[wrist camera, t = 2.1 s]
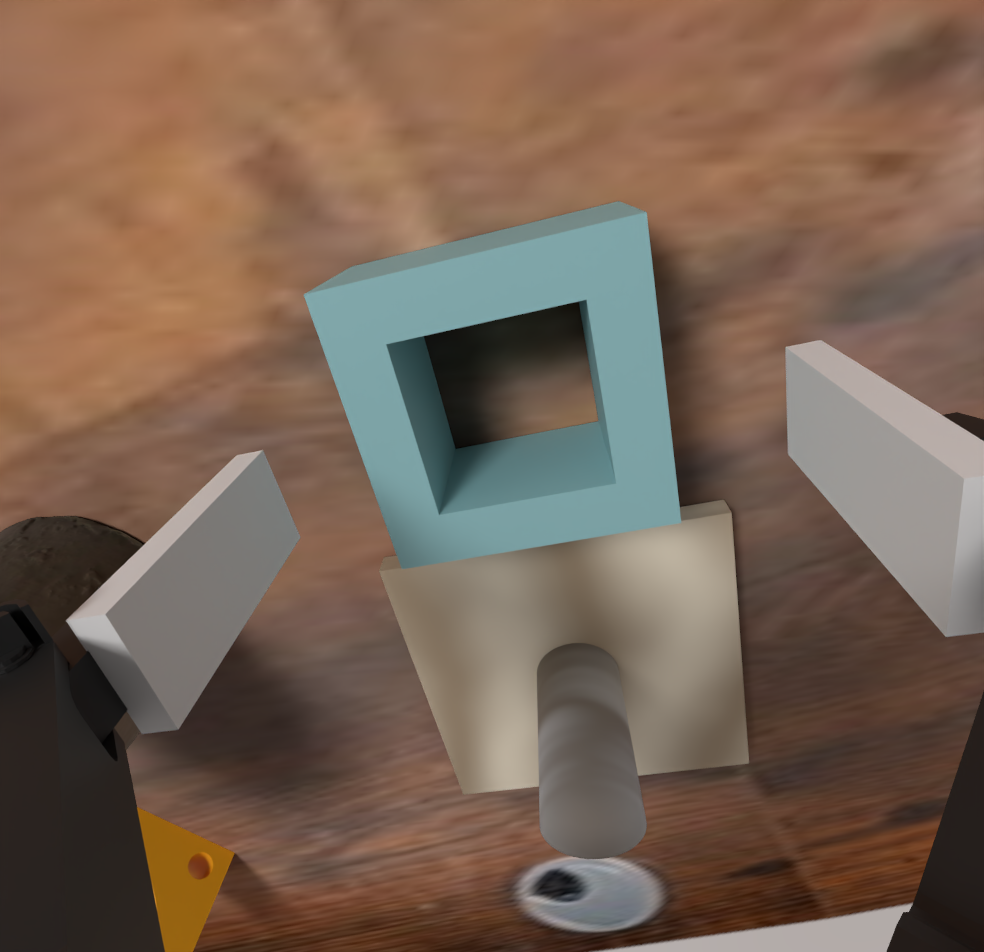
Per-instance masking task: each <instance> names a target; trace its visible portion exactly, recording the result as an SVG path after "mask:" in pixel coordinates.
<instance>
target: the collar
mask: <svg viewBox="0 0 984 952" xmlns="http://www.w3.org/2000/svg"><path fill="white" fill-rule="evenodd" d="M304 297H305V300H306V303H307V305H308V308H309V311H310V314H311V317H312V319H313V322H314V325H315V328H316V331H317V333H318V336H319V339H320V342H321V345H322V347H323V350H324V353H325V356H326V359H327V361H328V364H329V367H330V370H331V373H332V375H333V378H334V381H335V384H336V387H337V389H338V392H339V395H340V398H341V401H342V403H343V406H344V409H345V412H346V415H347V417H348V420H349V423H350V426H351V428H352V431H353V434H354V437H355V440H356V442H357V445H358V448H359V451H360V454H361V456H362V459H363V462H364V465H365V468H366V470H367V473H368V476H369V479H370V482H371V484H372V487H373V490H374V493H375V496H376V498H377V501H378V504H379V507H380V510H381V512H382V515H383V518H384V521H385V524H386V526H387V529H388V532H389V535H390V538H391V540H392V543H393V546H394V549H395V552H396V554H397V557H398V560H399V563H400V565H401V568H402V569H408V568H414V567H420V566H426V565H432V564H438V563H444V562H450V561H456V560H462V559H468V558H474V557H480V556H486V555H492V554H498V553H504V552H510V551H516V550H522V549H528V548H534V547H540V546H546V545H552V544H558V543H564V542H570V541H576V540H582V539H588V538H594V537H600V536H606V535H612V534H618V533H624V532H630V531H636V530H642V529H648V528H654V527H660V526H666V525H672V524H678V523H681V515H680V506H679V497H678V488H677V479H676V470H675V462H674V453H673V444H672V435H671V426H670V417H669V408H668V399H667V390H666V381H665V372H664V363H663V355H662V346H661V337H660V328H659V319H658V310H657V301H656V292H655V283H654V274H653V265H652V256H651V248H650V239H649V230H648V221H647V212H645V211H643V210H640V209H638V208H635V207H632V206H630V205H627V204H625V203H622V202H620V201H618V202H614V203H610V204H605V205H601V206H597V207H593V208H589V209H585V210H581V211H577V212H573V213H569V214H565V215H560V216H556V217H552V218H548V219H544V220H540V221H536V222H532V223H528V224H524V225H520V226H516V227H511V228H507V229H503V230H499V231H495V232H491V233H487V234H483V235H479V236H475V237H471V238H467V239H462V240H458V241H454V242H450V243H446V244H442V245H438V246H434V247H430V248H426V249H422V250H418V251H413V252H409V253H405V254H401V255H397V256H393V257H389V258H385V259H381V260H377V261H373V262H368V263H364V264H360V265H356V266H352V267H350V268H348V269H347V270H345V271H343V272H341V273H340V274H338V275H336V276H335V277H333V278H331V279H329V280H328V281H326V282H324V283H323V284H321V285H319V286H317V287H316V288H314V289H312V290H311V291H309V292H307V293H305V294H304ZM578 301H579V306H580V312H581V318H582V324H583V330H584V336H585V342H586V348H587V354H588V360H589V366H590V372H591V378H592V384H593V390H594V396H595V402H596V408H597V414H598V420H599V421H597V422H592V423H587V424H582V425H577V426H571V427H566V428H561V429H556V430H551V431H546V432H540V433H535V434H530V435H525V436H520V437H515V438H510V439H504V440H499V441H494V442H489V443H484V444H479V445H473V446H468V447H463V448H458V449H455V445H454V442H453V438H452V434H451V431H450V427H449V424H448V420H447V417H446V413H445V410H444V406H443V403H442V399H441V395H440V392H439V388H438V385H437V381H436V378H435V374H434V371H433V367H432V364H431V360H430V356H429V353H428V349H427V346H426V342H425V339H424V336H426V335H431V334H435V333H439V332H444V331H448V330H453V329H457V328H462V327H466V326H471V325H475V324H480V323H484V322H489V321H493V320H498V319H502V318H507V317H511V316H516V315H520V314H525V313H529V312H534V311H538V310H542V309H547V308H551V307H556V306H560V305H565V304H569V303H574V302H578Z"/></svg>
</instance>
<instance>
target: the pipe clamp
mask: <svg viewBox="0 0 984 952" xmlns="http://www.w3.org/2000/svg"><path fill="white" fill-rule="evenodd" d="M137 810H138V815H139V820H140V825H141V831H142V836H143V841H144V846H145V851H146V856H147V862H148V867H149V872H150V877H151V882H152V887H153V892H154V898H155V903H156V908H157V913H158V918H159V923H160V929H161V934H162V939H163V944H164V949H165V952H193V950H194V948H195V945H196V943H197V941H198V938H199V936H200V934H201V931H202V929H203V926H204V924H205V922H206V919H207V917H208V915H209V912H210V910H211V908H212V905H213V903H214V901H215V898H216V896H217V894H218V891H219V889H220V887H221V884H222V882H223V879H224V877H225V875H226V872H227V870H228V868H229V865H230V863H231V861H232V858H233V856H234V854H235V853H234V852H232V851H230V850H228V849H225V848H223V847H221V846H219V845H217V844H215V843H213V842H211V841H208V840H206V839H204V838H202V837H200V836H198V835H196V834H193V833H191V832H189V831H187V830H185V829H183V828H181V827H179V826H176V825H174V824H172V823H170V822H168V821H166V820H164V819H161V818H159V817H157V816H155V815H153V814H151V813H149V812H147V811H144V810H142V809H140V808H138V807H137Z"/></svg>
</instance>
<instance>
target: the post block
mask: <svg viewBox="0 0 984 952" xmlns="http://www.w3.org/2000/svg"><path fill="white" fill-rule="evenodd" d="M680 515H681V523H678V524H672V525H666V526H660V527H654V528H648V529H642V530H636V531H630V532H624V533H618V534H612V535H606V536H600V537H594V538H588V539H582V540H576V541H570V542H564V543H558V544H552V545H546V546H540V547H534V548H528V549H522V550H516V551H510V552H504V553H498V554H492V555H486V556H480V557H474V558H468V559H462V560H456V561H450V562H444V563H438V564H432V565H426V566H420V567H414V568H408V569H402V568H401V565H400V563H399V560H398V557H397V555H395V556H390V557H384V559H383V562H382V565H381V567H380V570H379V573H380V575H381V578H382V581H383V583H384V586H385V588H386V591H387V594H388V596H389V599H390V602H391V604H392V607H393V610H394V612H395V615H396V618H397V620H398V623H399V625H400V628H401V631H402V633H403V636H404V639H405V641H406V644H407V647H408V649H409V652H410V655H411V657H412V660H413V663H414V665H415V668H416V670H417V673H418V676H419V678H420V681H421V684H422V686H423V689H424V692H425V694H426V697H427V700H428V702H429V705H430V708H431V710H432V713H433V715H434V718H435V721H436V723H437V726H438V729H439V731H440V734H441V737H442V739H443V742H444V745H445V747H446V750H447V752H448V755H449V758H450V760H451V763H452V766H453V768H454V771H455V774H456V776H457V779H458V782H459V784H460V787H461V790H462V792H463V795H464V794H473V793H483V792H492V791H501V790H510V789H519V788H529V787H538V786H539V812H540V831H541V834H542V836H543V837H544V839H545V840H546V842H547V843H548V844H549V845H551V846H552V847H553V848H555V849H556V850H558V851H560V852H562V853H564V854H567V855H570V856H573V857H578V858H584V859H602V858H609V857H614V856H617V855H620V854H622V853H625V852H627V851H629V850H630V849H632V848H633V847H635V846H636V845H637V844H638V843H639V842H640V841H641V840H642V838H643V837H644V835H645V832H646V827H647V824H646V817H645V811H644V806H643V800H642V795H641V789H640V784H639V779H638V776H639V775H648V774H658V773H667V772H676V771H685V770H694V769H704V768H713V767H722V766H731V765H740V764H749V755H748V741H747V726H746V712H745V698H744V683H743V669H742V655H741V641H740V626H739V612H738V598H737V583H736V569H735V555H734V540H733V526H732V512H731V511H730V509H729V507H728V506H727V504H726V502H725V501H724V500H719V501H713V502H707V503H701V504H695V505H689V506H684V507H680Z"/></svg>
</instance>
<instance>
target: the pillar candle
mask: <svg viewBox="0 0 984 952" xmlns="http://www.w3.org/2000/svg"><path fill="white" fill-rule="evenodd" d="M142 546H143V544H142V543H140V542H138V541H137V540H135V539H134V538H132V537H130V536H128V535H126V534H125V533H123V532H121V531H118V530H114V529H111V528H109V527H108V526H103V525H102V524H98V523H97V522H94V521H91V520H87V519H84V518H78V517H77V516H65V517H61V516H57V517H55V516H54V517H45V518H43V517H36V518H30V519H27V520H25V521H22V522H19V523H16V524H14V525H12V526H10V527H8V528H6V529H5V530H3V531H1V532H0V603H3V602H7V601H12V600H16V599H18V600H26V602H27V603H28V605H29V606H30V607H31V609H32V610H33V612H34V613H35V615H36V616H37V617H38V619H39V620H40V622H41V623H42V625H43V626H44V628H45V629H46V630H47V632H48V633H49V635H50V636H51V637H52V636H53V635H54V634H55V633H56V632H57V631H58V630H59V629H60V628H61V627H62V626H63V625H65V624H66V623H67V622H66V620H67V619H68V618H69V617H70V616H71V615H72V614H73V613H74V612H75V611H76V610H77V609H78V608H79V607H80V606H81V605H82V604H83V603H84V602H85V601H86V600H88V599H89V598H90V597H91V596H92V595H93V594H94V593H95V592H96V591H97V590H98V589H99V588H100V587H101V586H102V585H103V584H104V583H105V582H106V581H107V580H108V579H109V578H110V577H111V576H112V575H113V574H114V573H115V572H116V571H118V570H119V569H120V568H121V567H122V566H123V565H124V564H125V563H126V562H127V561H128V560H129V559H130V558H131V557H132V556H133V555H134V554H135V553H136V552H137V551H138V550H139V549H140V548H141V547H142ZM114 728H115V730H116V731H117V732H118V734H119V735H120V737H121V738H122V740H123V741H124V743H125V748H126V750H127V749H128V747H129V746H130V744H131V743H132V742H133V741H134V740H135V738H136V737H137V735H138V734H139V732H140V730H139V729H138V727H137V726H136V724H135V723H134V721H133V720H132V718H131V717H130V715H129V714H128V712H127V711H126V713H125V714H124V715H123V717H122V718H121V719H120V721H119V722H118V723H117V725H116V726H115V727H114Z"/></svg>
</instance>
